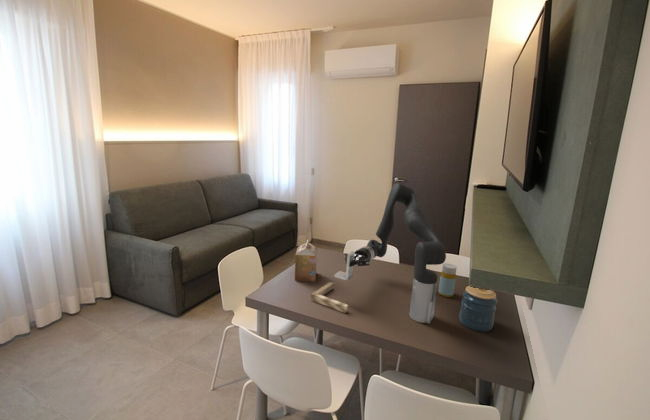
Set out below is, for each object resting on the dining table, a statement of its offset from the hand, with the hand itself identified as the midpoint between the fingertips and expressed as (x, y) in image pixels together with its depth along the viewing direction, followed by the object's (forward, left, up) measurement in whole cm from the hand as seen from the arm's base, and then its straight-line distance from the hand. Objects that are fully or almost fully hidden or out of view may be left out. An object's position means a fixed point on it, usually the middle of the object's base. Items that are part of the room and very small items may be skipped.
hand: (348, 264), depth 135 cm
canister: (-51, -20, -19) cm, 58 cm away
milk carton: (+31, -12, -19) cm, 39 cm away
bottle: (-35, -39, -19) cm, 56 cm away
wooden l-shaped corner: (+5, -1, -19) cm, 20 cm away
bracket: (+3, -2, -7) cm, 8 cm away
